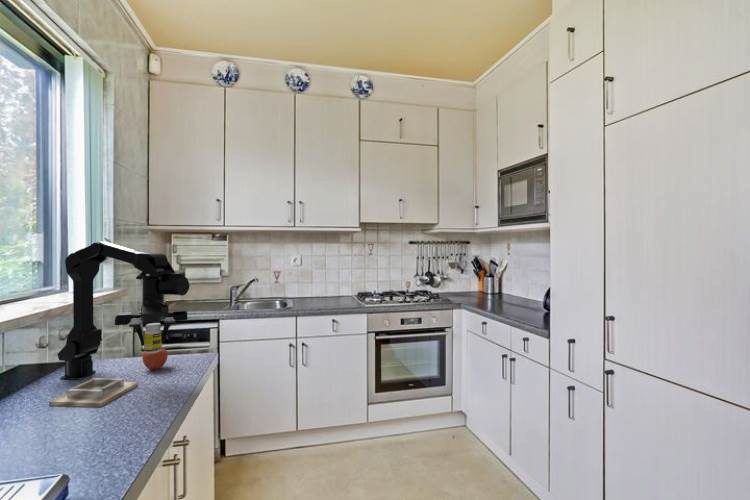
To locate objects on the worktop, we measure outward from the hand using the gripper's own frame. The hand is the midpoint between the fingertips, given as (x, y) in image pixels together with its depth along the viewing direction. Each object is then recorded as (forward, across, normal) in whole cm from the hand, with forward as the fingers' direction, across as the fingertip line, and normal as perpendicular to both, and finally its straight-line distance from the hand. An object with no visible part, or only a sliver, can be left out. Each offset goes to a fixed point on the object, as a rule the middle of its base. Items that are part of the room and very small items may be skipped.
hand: (152, 344), depth 110 cm
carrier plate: (+12, -13, -4) cm, 18 cm away
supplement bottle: (+2, 0, 0) cm, 2 cm away
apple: (+12, 0, +13) cm, 18 cm away
